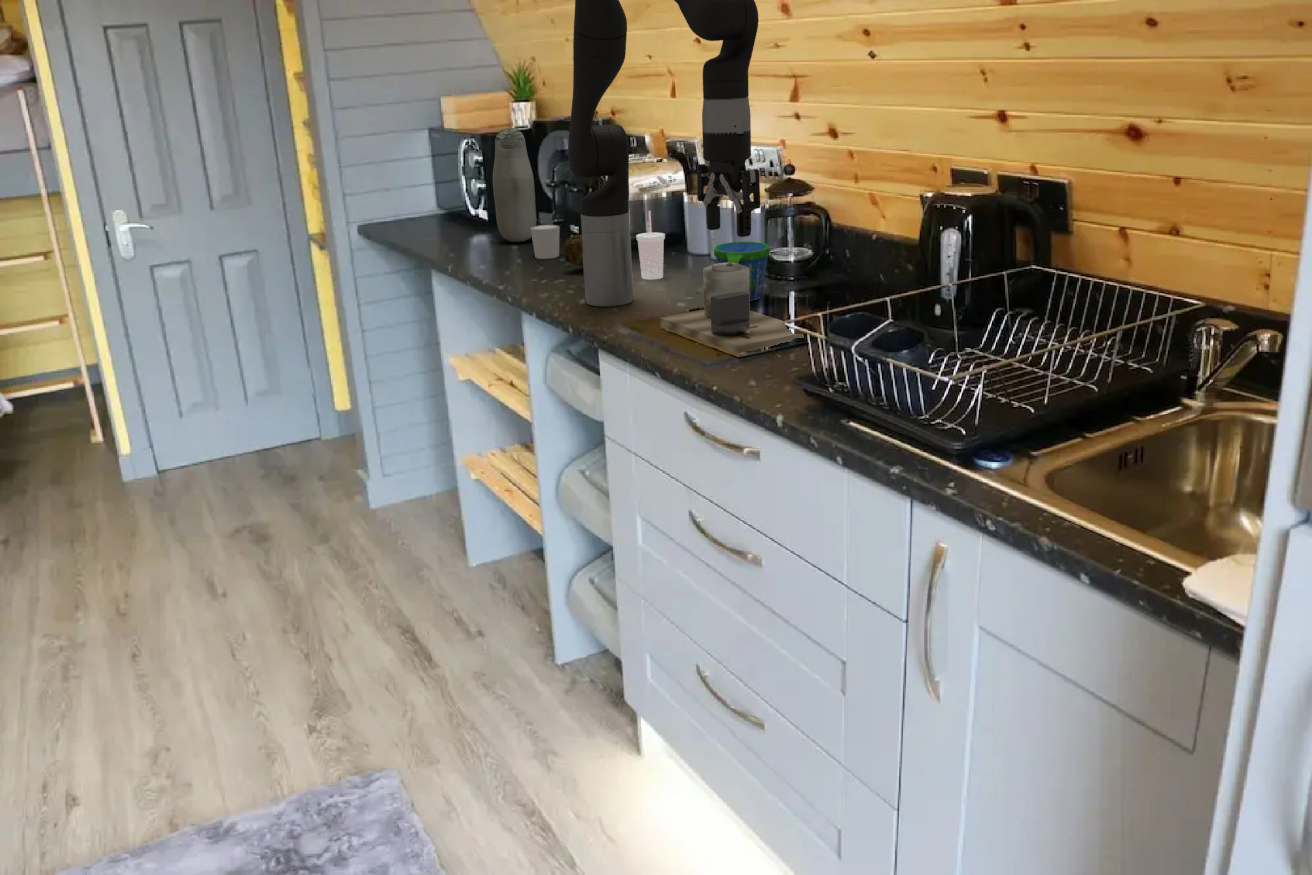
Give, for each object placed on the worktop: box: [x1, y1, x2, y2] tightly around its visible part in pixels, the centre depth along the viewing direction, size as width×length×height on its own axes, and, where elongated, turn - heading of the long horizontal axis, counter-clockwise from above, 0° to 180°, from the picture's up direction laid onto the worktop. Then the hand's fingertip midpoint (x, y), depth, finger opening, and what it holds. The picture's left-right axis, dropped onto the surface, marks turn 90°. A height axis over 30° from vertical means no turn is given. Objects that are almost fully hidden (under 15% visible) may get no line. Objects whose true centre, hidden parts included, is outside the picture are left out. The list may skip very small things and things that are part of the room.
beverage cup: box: [635, 210, 666, 280], centre depth 234 cm, size 6×6×14 cm
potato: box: [562, 234, 583, 268], centre depth 246 cm, size 8×13×8 cm, turn 112°
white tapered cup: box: [530, 224, 560, 260], centre depth 262 cm, size 7×7×7 cm
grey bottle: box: [492, 127, 537, 243], centre depth 279 cm, size 10×10×28 cm
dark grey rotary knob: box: [711, 291, 751, 335], centre depth 182 cm, size 8×6×6 cm
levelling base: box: [659, 262, 804, 353], centre depth 188 cm, size 24×15×11 cm, turn 31°
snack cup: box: [713, 241, 771, 300], centre depth 213 cm, size 16×10×10 cm
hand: (728, 232), depth 179 cm, fingers open, 8 cm apart
